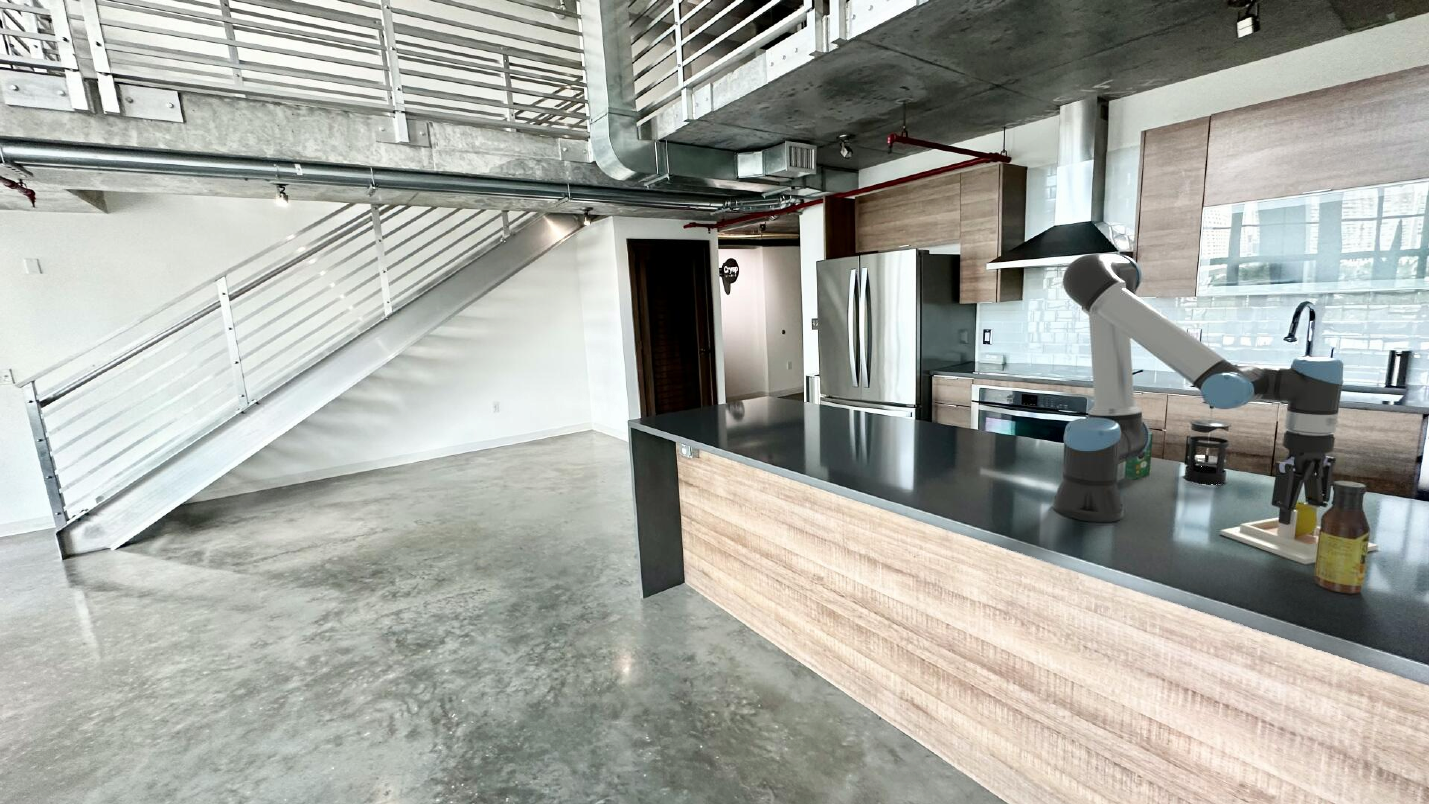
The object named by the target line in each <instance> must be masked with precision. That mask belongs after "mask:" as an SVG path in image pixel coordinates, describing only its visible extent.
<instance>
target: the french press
mask: <svg viewBox="0 0 1429 804" xmlns="http://www.w3.org/2000/svg"><path fill="white" fill-rule="evenodd" d="M1202 404H1205V405H1208V404H1207V403H1206V402H1205V401H1204V400H1203V401H1202ZM1209 409H1210V411H1209V419H1191V420H1189V424H1191V425H1190V429H1191V430H1192V431H1194V432H1198V433H1203V434H1207V435H1186V441H1185V450H1184V451H1185V453H1184V462H1183V463H1184V465H1185V467H1184V468H1185V469H1184V476H1183V479H1184V480H1185V481H1186V482H1189V483H1193V484H1197V485H1202V484H1206V485H1205V486H1212V485H1211V484H1213V485H1216V484H1217V485H1218V484H1225V483H1226V484H1227V470H1226V469H1224V467H1225V464H1226V462H1227V460H1226V459H1225V457H1226V449H1227V448H1230V440H1228V439H1226V438H1221V437H1217V436H1216V437H1215V436H1211V432H1214V431H1215V430H1222V431H1226V432H1229V429H1230V427H1232V423H1230V422H1227V421H1224V420H1223V421H1221V420H1214V419H1212V417H1213V416H1212V415H1213V410H1214V407H1212V406H1210V405H1209ZM1202 441H1203V442H1202ZM1204 441H1205V442H1204ZM1210 442H1213V443H1210ZM1198 448H1205V449H1206V452H1205V453H1206V454H1198V450H1199V449H1198ZM1209 449H1217V456H1215V455H1209ZM1201 466H1202V467H1201ZM1226 484H1225V485H1226ZM1218 486H1219V485H1218Z"/></svg>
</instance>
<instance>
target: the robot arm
mask: <svg viewBox="0 0 1429 804" xmlns="http://www.w3.org/2000/svg"><path fill="white" fill-rule="evenodd" d="M1142 277H1143V276H1142V269H1141V267H1140V265H1139V264H1138V262H1136V260H1134V259H1133V258H1131V257H1129V256H1127V255H1125V254H1119V253H1101V254H1100V253H1099V254H1097V253H1096V254H1095V253H1091V254H1085V255H1083V256H1080V257H1078V258H1076V259H1074V260H1073V261H1071V263H1070V264H1069V265H1068V266H1067V267H1066V269H1065V270H1064V274H1063V277H1062V286H1063V289H1064V291H1065V293H1066V294H1067V295H1068V297H1069V298H1070V299H1071V300H1073V302H1075V303H1076V304H1078V305H1079V306H1080V307H1081V311H1082V312H1083V313H1085V314H1086V315H1087V316H1088V320H1089V321H1088V322H1089V337H1090V338H1089V339H1090V340H1089V341H1090V348H1091V349H1090V351H1091V352H1090V353H1091V368H1092V369H1091V370H1092V384H1093V399H1094V400H1093V401H1094V404H1093V405H1094V406H1093V407H1091V409H1090V410H1089V411H1088V417H1085V418H1076V419H1073V420H1072V421H1069V422H1068V423H1067V425H1066V426H1065V427H1064V428H1065V429H1064V434H1063V455H1062V457H1063V459H1062V479H1061V481H1060V484H1059V486H1058V489H1057V492H1056V494H1055V495H1054V497H1053V501H1052V502H1053V503H1052V508H1053V509H1054V511H1055V512H1056V513H1058V514H1060V515H1061V516H1064V517H1067V518H1071V519H1075V520H1079V521H1083V522H1084V521H1085V522H1093V523H1109V522H1116V521H1120V520H1121V519H1122V518H1124V509H1125V508H1124V505H1123V503H1122V502H1121V497H1120V492H1119V489H1118V484H1117V481H1118V472H1119V471H1118V470H1119V465H1121V464H1122V463H1124V462H1125V463H1126V461H1128V460H1132V459H1134V458H1136V457H1138V456H1139V455H1140V454H1141V453H1142V452H1144V451H1145V450H1146V448H1147V447H1148V445H1149V443H1150V437H1151V435H1150V433H1151V430H1150V428H1149V426H1148V424H1147V423H1146V422H1145V421H1144V420H1143V411H1142V410H1143V409H1141V407H1138V406H1137V405H1136V404H1135V400H1134V399H1135V396H1134V381H1133V379H1134V378H1133V363H1132V361H1133V360H1132V348H1131V347H1132V346H1131V340H1133V341H1134V342H1136V343H1137V344H1138V345H1140V346H1141V347H1142V348H1143V349H1145V350H1147V352H1149V353H1150V354H1151V355H1153V356H1154V357H1155V358H1156V359H1158V360H1159V361H1161V362H1162V363H1163V364H1165V365H1166V366H1167V367H1168V368H1170V369H1171V370H1172V371H1174V372H1175V373H1176V374H1177V375H1179V376H1180V377H1182V378H1183V379H1184V380H1186V381H1187V382H1188V383H1190V384H1191V385H1192V386H1194V387H1195V388H1196V389H1198V390H1199V391H1200V395H1201V398H1202V400H1203V402H1204V401H1205V402H1206V403H1207V404H1206V405H1209V407H1210V406H1212V407H1214V408H1215V409H1218V410H1229V409H1237V408H1241V407H1242V406H1243V407H1244V406H1246V405H1248V403H1251V402H1254V401H1255V400H1262V401H1264V400H1265V401H1277V402H1287V406H1286V415H1285V420H1284V421H1285V423H1284V428H1285V429H1286V430H1285V431H1283V432H1284V433H1283V442H1282V446H1283V447H1284V448H1285V449H1287V450H1288V454H1287V456H1286V460H1285V461H1283V462H1282V461H1276V462H1275V464H1274V467H1275V477H1274V483H1273V485H1274V486H1273V490H1272V496H1271V497H1272V498H1271V506H1273V507H1276V508H1278V509H1279V513H1278V517H1279V520H1278V521H1279V522H1278V530H1277V534H1278V535H1281V536H1284V537H1287V538H1290V539H1293V540H1294V537H1295V529H1296V521H1297V513H1298V511H1296V510H1294V509H1295V506H1296V504H1297V502H1299V497H1300V495H1301V491H1302V489H1303V488H1304V490H1303V491H1304V498H1305V499H1304V500H1305V502H1303V503H1304V504H1306V505H1308V506H1310V507H1311V508H1312V509H1313V510H1314V511H1315V513H1316V516H1317V525H1316V527H1315V529H1314V531H1313V532H1311V533H1309V534H1308V535H1311V536H1316V532H1317V526H1318V523H1319V514H1320V509H1321V507H1322V508H1327V507H1328V505H1329V501H1330V500H1331V491H1332V484H1333V482H1332V481H1333V473H1334V467H1335V465H1336V462H1337V458H1336V457H1332V456H1328V455H1326V454H1329V453H1332V452H1333V451H1334V449H1335V440H1336V435H1334V434H1333V433H1334V432H1336V430H1337V424H1339V420H1338V413H1339V408H1340V403H1341V402H1340V401H1341V396H1342V389H1343V384H1344V378H1343V377H1344V363H1343V362H1342V360H1340V359H1338V358H1334V357H1325V356H1324V357H1320V356H1318V357H1317V356H1315V357H1314V356H1313V357H1311V356H1302V357H1297V358H1294V359H1293V360H1292V363H1291V364H1290V365H1287V366H1285V365H1282V366H1278V365H1277V366H1276V365H1264V364H1262V365H1261V364H1249V363H1248V364H1247V363H1231V362H1229V361H1227V360H1226V358H1225V357H1222V356H1221V355H1220V354H1219V353H1218V352H1216V351H1214V350H1213V349H1212V348H1210V347H1209V346H1208V345H1206V344H1204V343H1203V342H1202V341H1201V340H1199V339H1197V338H1196V337H1194V336H1193V335H1192V334H1191V333H1189V332H1187V331H1186V330H1184V328H1182V327H1180V326H1179V325H1178V324H1176V323H1175V322H1174V321H1172V320H1171V319H1169V318H1168V317H1166V316H1165V315H1163V314H1162V313H1160V312H1159V311H1158V310H1157V309H1155V308H1154V307H1153V306H1151V305H1149V304H1148V303H1147V302H1146V301H1144V300H1142V299H1141V298H1140V297H1138V296H1137V295H1136V291H1137V290H1138V288H1139V287H1140V285H1141V282H1142Z"/></svg>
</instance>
